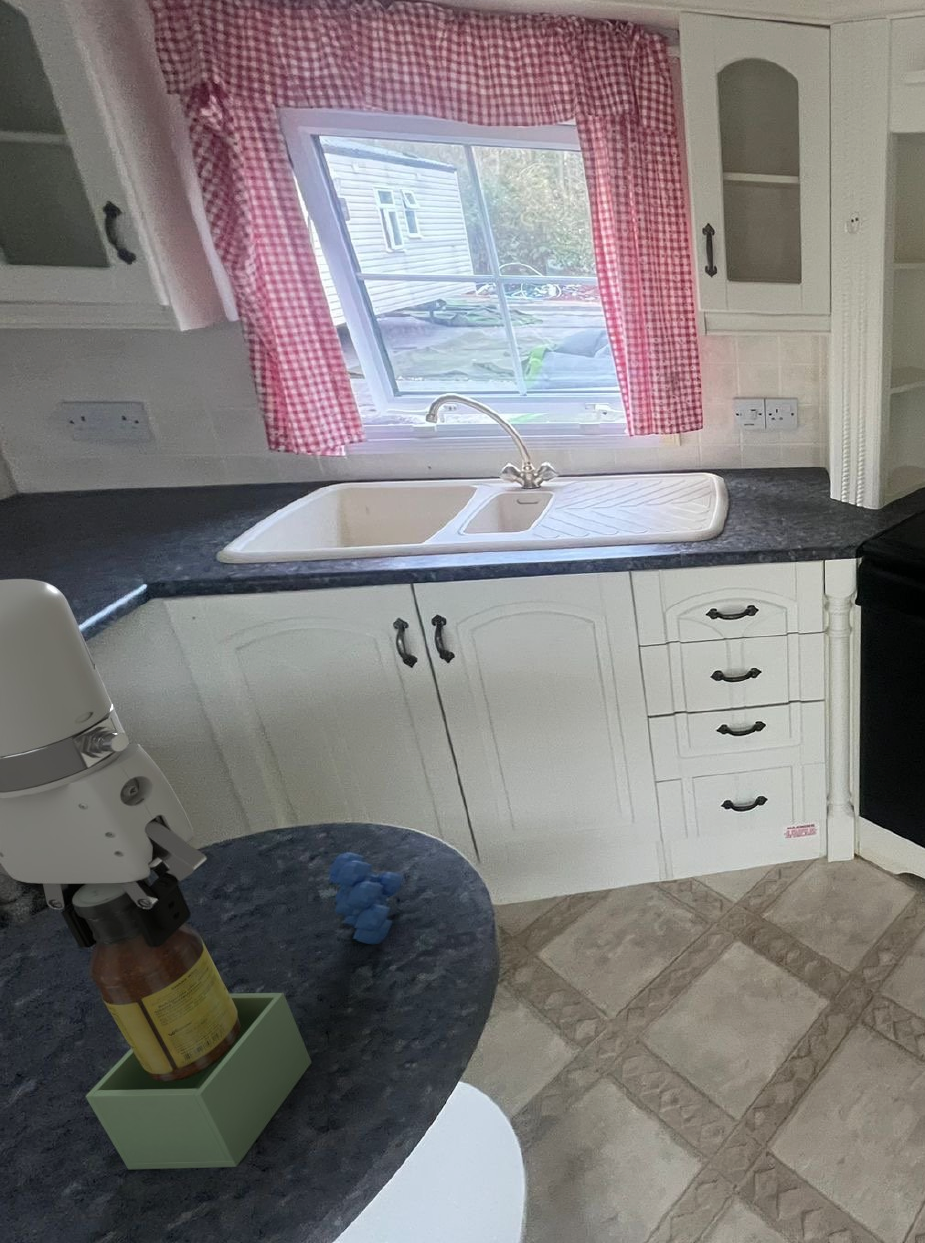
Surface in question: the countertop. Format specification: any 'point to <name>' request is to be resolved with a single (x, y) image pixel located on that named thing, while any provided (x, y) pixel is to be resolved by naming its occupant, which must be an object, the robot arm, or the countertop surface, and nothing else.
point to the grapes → (363, 896)
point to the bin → (206, 1095)
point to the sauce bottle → (157, 987)
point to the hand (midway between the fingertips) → (136, 930)
